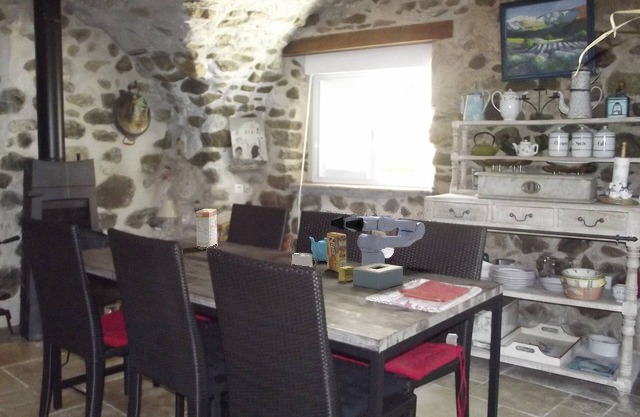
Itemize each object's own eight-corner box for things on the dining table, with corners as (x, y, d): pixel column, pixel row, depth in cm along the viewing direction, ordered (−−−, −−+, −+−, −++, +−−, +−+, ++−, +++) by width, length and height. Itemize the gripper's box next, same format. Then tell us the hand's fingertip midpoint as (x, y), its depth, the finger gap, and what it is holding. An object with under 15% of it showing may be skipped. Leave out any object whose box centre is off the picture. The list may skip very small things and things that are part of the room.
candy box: (347, 271, 252) (347, 234, 250) (338, 272, 249) (338, 235, 248) (334, 268, 259) (334, 232, 258) (326, 269, 257) (326, 232, 255)
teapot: (340, 257, 286) (340, 235, 285) (346, 262, 271) (346, 239, 270) (309, 258, 284) (308, 236, 283) (313, 263, 269) (313, 240, 268)
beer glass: (291, 297, 207) (291, 253, 206) (312, 296, 208) (311, 252, 206) (292, 302, 200) (292, 256, 199) (313, 301, 201) (313, 256, 200)
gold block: (347, 278, 237) (347, 266, 237) (353, 279, 235) (353, 267, 235) (338, 280, 234) (338, 267, 233) (344, 281, 232) (344, 268, 231)
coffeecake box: (204, 245, 322) (203, 208, 320) (217, 245, 321) (217, 208, 319) (196, 250, 307) (195, 211, 305) (209, 250, 306) (209, 211, 304)
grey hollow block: (377, 279, 235) (377, 262, 235) (402, 284, 227) (402, 266, 226) (353, 285, 225) (353, 267, 225) (378, 290, 217) (379, 272, 216)
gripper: (348, 212, 247) (325, 211, 237) (376, 214, 237) (353, 214, 227) (347, 229, 247) (324, 229, 238) (375, 233, 237) (352, 233, 228)
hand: (338, 223), depth 233 cm, fingers open, 7 cm apart
